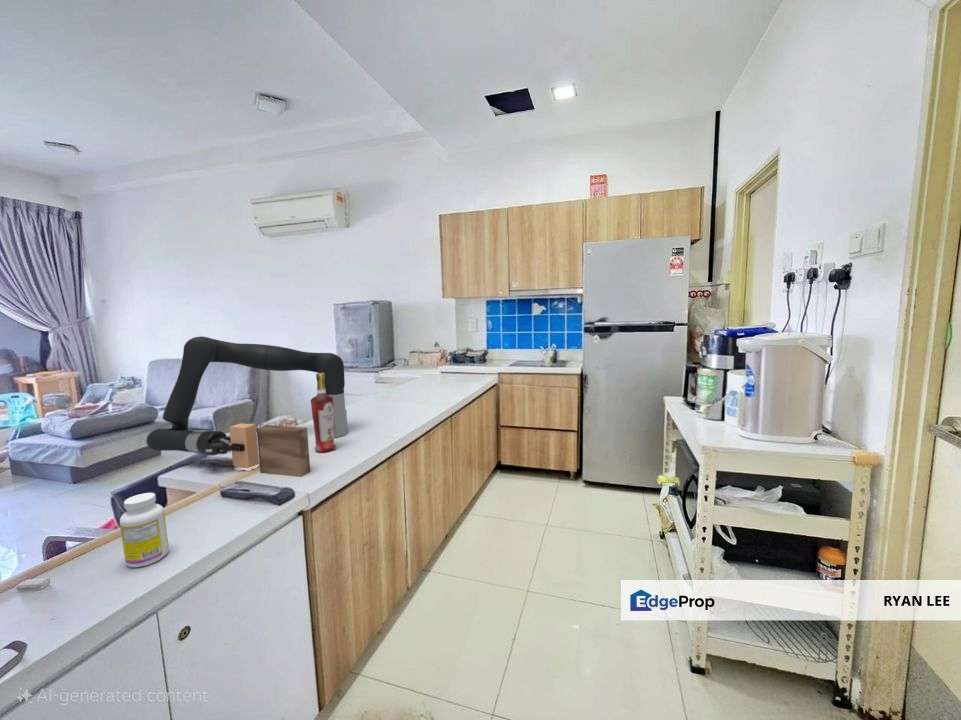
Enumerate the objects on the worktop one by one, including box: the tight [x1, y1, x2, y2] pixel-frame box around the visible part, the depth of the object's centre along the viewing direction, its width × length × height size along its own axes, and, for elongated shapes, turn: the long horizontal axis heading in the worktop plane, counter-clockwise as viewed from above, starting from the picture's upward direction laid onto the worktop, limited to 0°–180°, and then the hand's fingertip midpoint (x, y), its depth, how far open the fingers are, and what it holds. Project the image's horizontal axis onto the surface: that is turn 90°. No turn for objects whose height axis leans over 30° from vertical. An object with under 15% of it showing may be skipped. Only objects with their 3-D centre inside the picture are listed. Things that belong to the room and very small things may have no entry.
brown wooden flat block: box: [256, 424, 311, 478], centre depth 118 cm, size 4×15×14 cm, turn 76°
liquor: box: [310, 372, 336, 453], centre depth 136 cm, size 7×7×28 cm
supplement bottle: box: [119, 492, 170, 568], centre depth 77 cm, size 7×7×13 cm
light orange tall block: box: [229, 423, 260, 468], centre depth 121 cm, size 4×6×14 cm, turn 76°
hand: (249, 445), depth 121 cm, fingers closed on light orange tall block, 4 cm apart
